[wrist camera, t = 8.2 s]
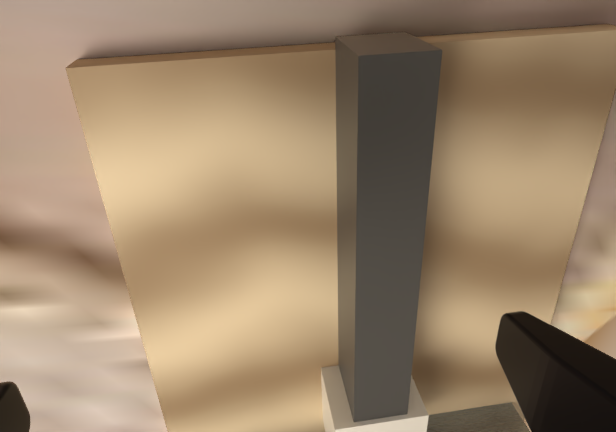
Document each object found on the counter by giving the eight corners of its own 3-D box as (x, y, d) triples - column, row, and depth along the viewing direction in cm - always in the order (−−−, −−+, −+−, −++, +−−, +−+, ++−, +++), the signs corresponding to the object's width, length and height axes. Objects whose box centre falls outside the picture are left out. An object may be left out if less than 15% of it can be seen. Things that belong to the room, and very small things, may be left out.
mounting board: (486, 503, 32) (495, 522, 30) (208, 553, 30) (208, 575, 29) (607, 24, 17) (632, 29, 16) (76, 59, 15) (65, 68, 14)
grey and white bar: (397, 423, 24) (419, 485, 21) (323, 435, 24) (335, 499, 21) (429, 30, 15) (475, 49, 12) (309, 38, 15) (328, 59, 12)
